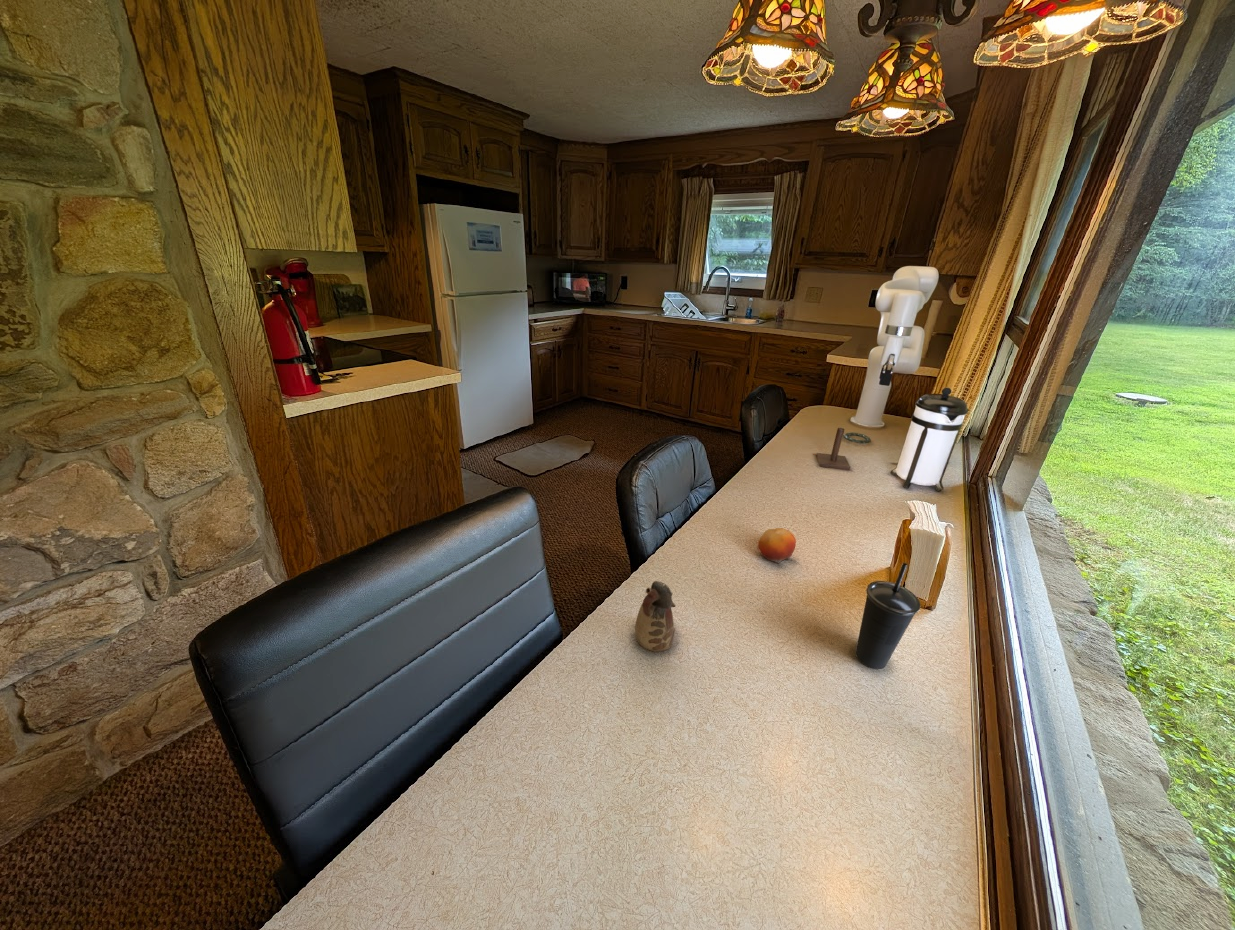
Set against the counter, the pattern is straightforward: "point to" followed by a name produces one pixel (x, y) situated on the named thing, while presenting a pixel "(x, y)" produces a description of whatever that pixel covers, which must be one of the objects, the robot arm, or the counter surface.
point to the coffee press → (931, 439)
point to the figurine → (656, 618)
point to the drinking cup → (885, 620)
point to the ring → (855, 439)
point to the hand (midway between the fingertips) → (883, 382)
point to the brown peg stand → (834, 455)
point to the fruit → (777, 544)
